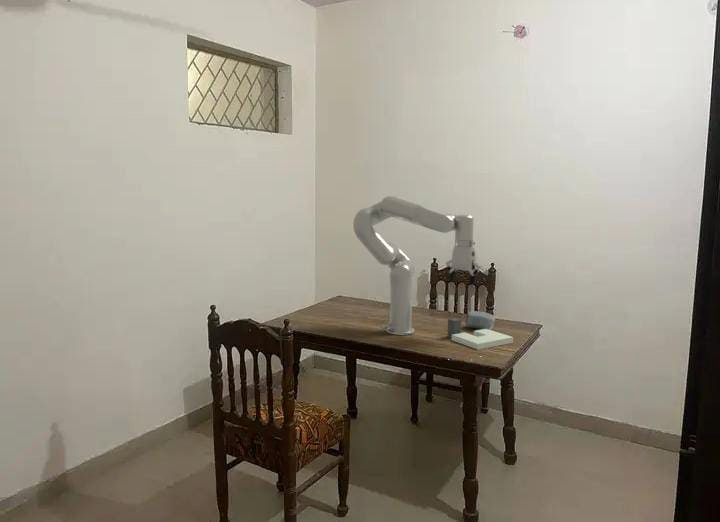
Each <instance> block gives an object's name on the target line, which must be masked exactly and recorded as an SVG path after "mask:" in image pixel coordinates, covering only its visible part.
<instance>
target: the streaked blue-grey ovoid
mask: <svg viewBox="0 0 720 522" xmlns="http://www.w3.org/2000/svg"><path fill="white" fill-rule="evenodd" d="M495 321H496V318H495V316H494V315H493V314H491V313H488V312H485V311H479V310H478V311H477V310H473V311H472V310H471V311H468V312H467V314H466V315H465V326H466V327H468V328H470V329H476V330H482V329H488V330H493V328H494V325H495Z"/></svg>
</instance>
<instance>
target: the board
mask: <svg viewBox="0 0 720 522" xmlns="http://www.w3.org/2000/svg"><path fill="white" fill-rule="evenodd" d="M451 341H453V342H456V343H459V344H460V345H464V346H467V347H470V348H472V349H475V350H483V349H489V348H492V347H493V348H494V347H497V346H498V347H500V346H502V345H509V344H513V343H514V337H513V336H511V335H508V334H505V333H502V332H498V331H495V330H493V329H491V330H488V329H482V330H481V329H476V330H473V334H471V333H468V332H461V333H459V334H453V335H452V338H451Z"/></svg>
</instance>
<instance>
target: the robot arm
mask: <svg viewBox="0 0 720 522" xmlns="http://www.w3.org/2000/svg"><path fill="white" fill-rule="evenodd" d="M389 218H395V219H398V220H402V221H405V222H408V223H411V224H414V225H417V226H420V227H423V228H426V229H429V230H433V231H435V232H439V233H443V234H447V233H450V232H452V231H455V233H454V235H455V236H454V246H453V248H452V254H451V259H449V260H448V261H446V262H445V265H446V268H447V270H448V272H449V274H450V282H451V283H454V282H455V283H456V282H457V272H456V271H465V272H469V274H470V275H469V285H470V286H473V285H475V284H476V277H477V275H478V273H480V271H481V269H482V265H481V264H479V263H478V262H477V256H476V250H475V247H473V246H475V244H476V242H475V241H474V217H473V215H469V214H458V215H457V214H456V215H455V214H451V213H450V214H449V213H446V214H445V213H444V214H443V213H440V212H437V211H433V210H430V209H428V208H426V207H424V206H422V205H421V204H419V203H415V202H411V201H407V200H404V199H401V198H398V197H397V196H394V195H390V196H385V197H383V199H382V200H381V201H379V202H377V203H375V204H373V205H371V206H369V207H365V208H361V209H360V210H359V211H358V212H357V213H356V214H355V217H354V219H353V223H352V224H353V232H354V234H355V237H357V239H358V240H359V241H360V243H361V244H362V245H363V246H364V247H365V248H366V250H367V251H368V252H369V253H370V254H371V255H372V257H373V258H374V259H375V260H376V261H377V262H378V263H379V264H380V265H382V266H387V267H388V268H389V269H390V272H389V286H390V287H389V288H390V292H389V293H390V294H389V295H390V302H389V303H390V304H389V305H390V307H389V321H387V323H386V324H382V325H380V329H381V330H385V331H386V332H387V333H388V334H390V335H394V336H395V335H396V336H406V335H407V336H409V335H412V334H414V333H415V328H414V327H412V306H413V305H412V303H413V300H412V299H413V298H412V297H413V296H412V295H413V292H412V291H413V287H412V285H413V284H412V283H413V282H412V280H413V279H412V278H413V277H414V275H415V273H416V268H415V265H414V263H413V261H411V260H410V258H408V256H407V255H406V254H405V253H404V252H403V251H402V250H401V248H399V246H397V245H396V244H394V243H392V242H389V241H388V242H387V241H386V240H385V239H384V238H383V236H382V235H381V234H380V233H379V232H378V231H377V230H376V229H375V228H374V226H376V225H378V224H380V223H382V222H384V221H386V220H387V219H389Z"/></svg>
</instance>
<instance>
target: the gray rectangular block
mask: <svg viewBox="0 0 720 522" xmlns="http://www.w3.org/2000/svg"><path fill="white" fill-rule="evenodd" d="M459 333H462V319H460V318H457V317H453V318H448V319H447V336H446V337H448V338H449V339H452V335H453V334H459Z"/></svg>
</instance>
